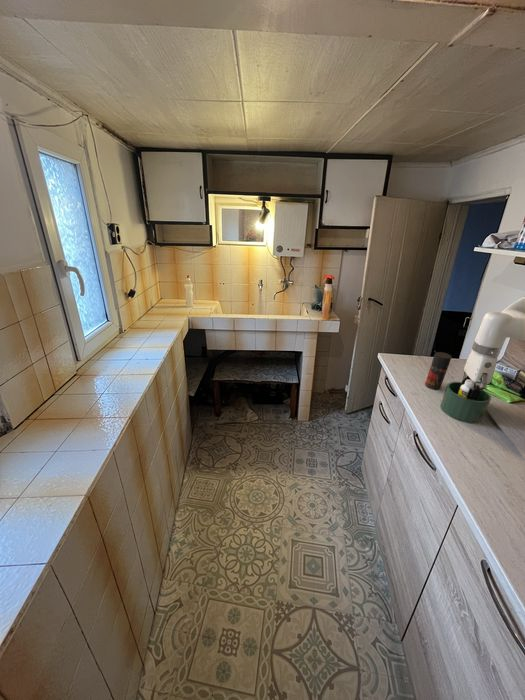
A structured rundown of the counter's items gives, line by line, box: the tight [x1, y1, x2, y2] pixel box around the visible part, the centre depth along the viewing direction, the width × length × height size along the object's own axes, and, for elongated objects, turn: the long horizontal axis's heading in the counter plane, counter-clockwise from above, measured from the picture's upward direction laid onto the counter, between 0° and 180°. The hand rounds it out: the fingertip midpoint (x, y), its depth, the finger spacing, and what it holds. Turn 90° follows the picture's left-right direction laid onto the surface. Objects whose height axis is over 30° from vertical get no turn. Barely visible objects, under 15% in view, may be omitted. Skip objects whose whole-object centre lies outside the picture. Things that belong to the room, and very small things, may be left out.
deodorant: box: [424, 351, 452, 391], centre depth 118 cm, size 6×6×15 cm
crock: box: [439, 381, 492, 424], centre depth 104 cm, size 13×13×9 cm
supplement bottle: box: [458, 379, 479, 401], centre depth 102 cm, size 5×5×10 cm
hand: (467, 393), depth 102 cm, fingers closed on supplement bottle, 5 cm apart
